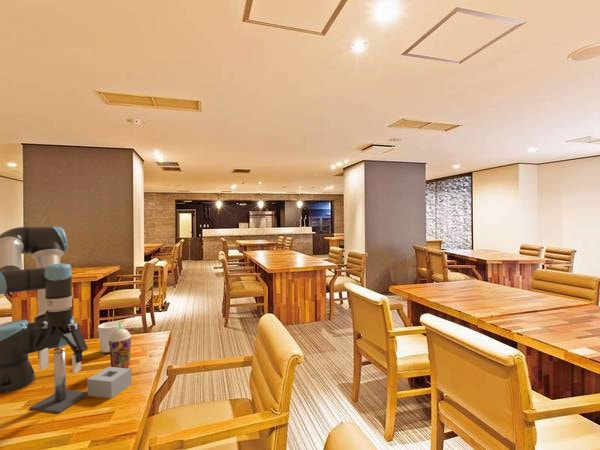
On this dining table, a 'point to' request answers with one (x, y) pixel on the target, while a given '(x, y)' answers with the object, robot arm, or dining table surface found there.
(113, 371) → the eye block
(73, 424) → the dining table surface
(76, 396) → the mat
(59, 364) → the peg
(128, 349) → the smoothie
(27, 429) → the dining table surface
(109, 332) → the cup
